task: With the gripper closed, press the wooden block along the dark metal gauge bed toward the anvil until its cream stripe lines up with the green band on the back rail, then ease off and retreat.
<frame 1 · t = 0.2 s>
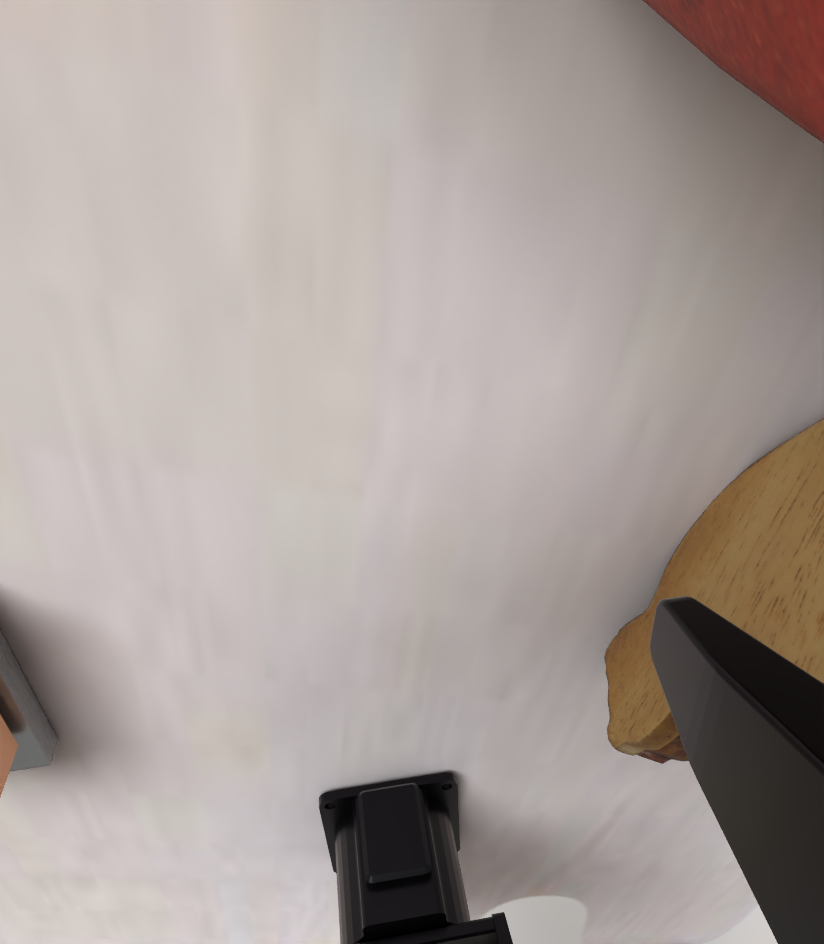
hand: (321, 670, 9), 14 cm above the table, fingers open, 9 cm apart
wooden carving: (715, 521, 29), on the table
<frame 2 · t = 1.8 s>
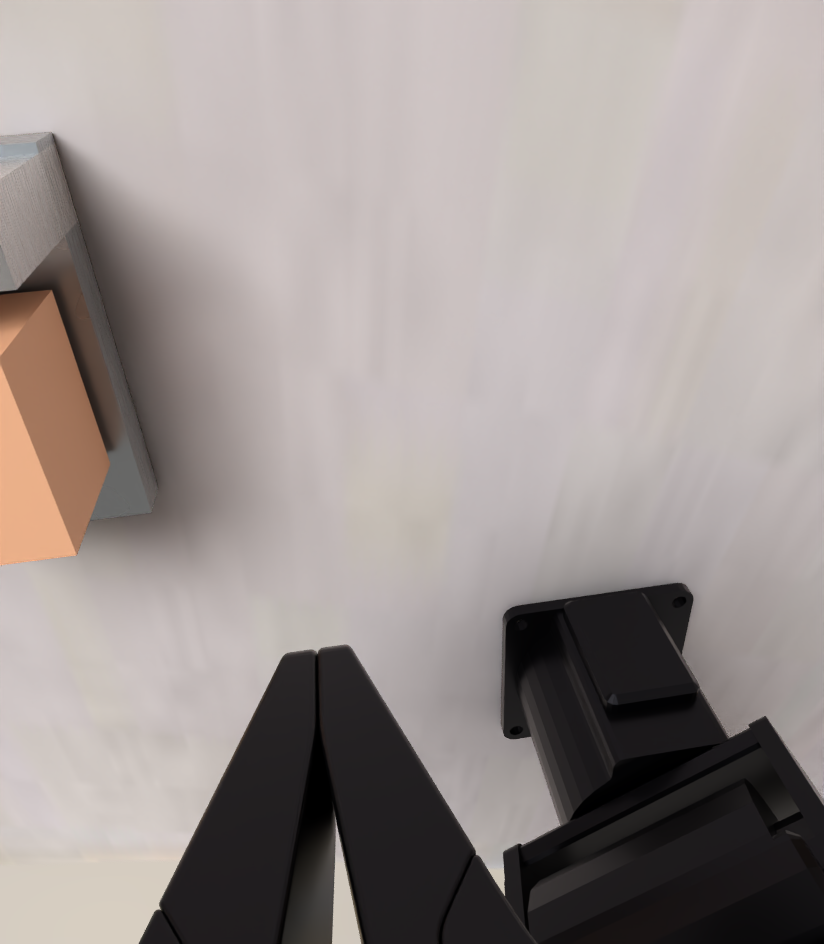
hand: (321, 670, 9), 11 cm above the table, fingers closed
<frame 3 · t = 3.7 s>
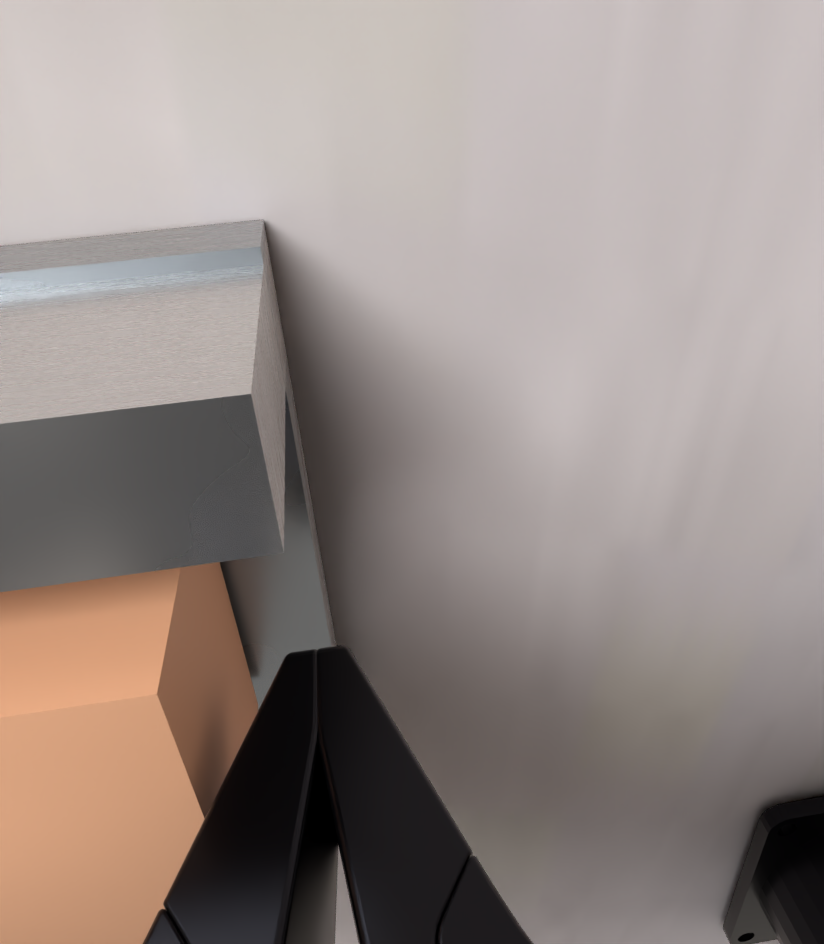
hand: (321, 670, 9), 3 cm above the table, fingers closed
wooden block: (61, 731, 9), point 3 cm above the table, slide at 0.8 cm, touching gripper
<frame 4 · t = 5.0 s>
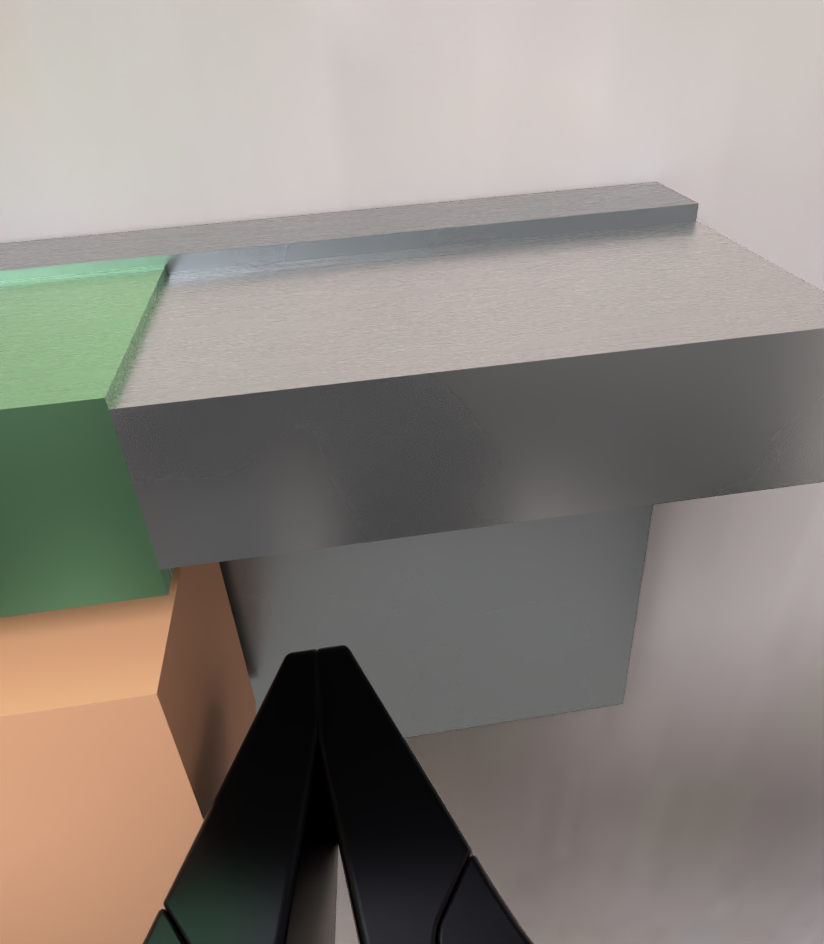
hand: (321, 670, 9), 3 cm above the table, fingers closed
wooden block: (59, 730, 9), point 3 cm above the table, slide at 5.9 cm, touching gripper
gauge bed: (195, 521, 12), on the table
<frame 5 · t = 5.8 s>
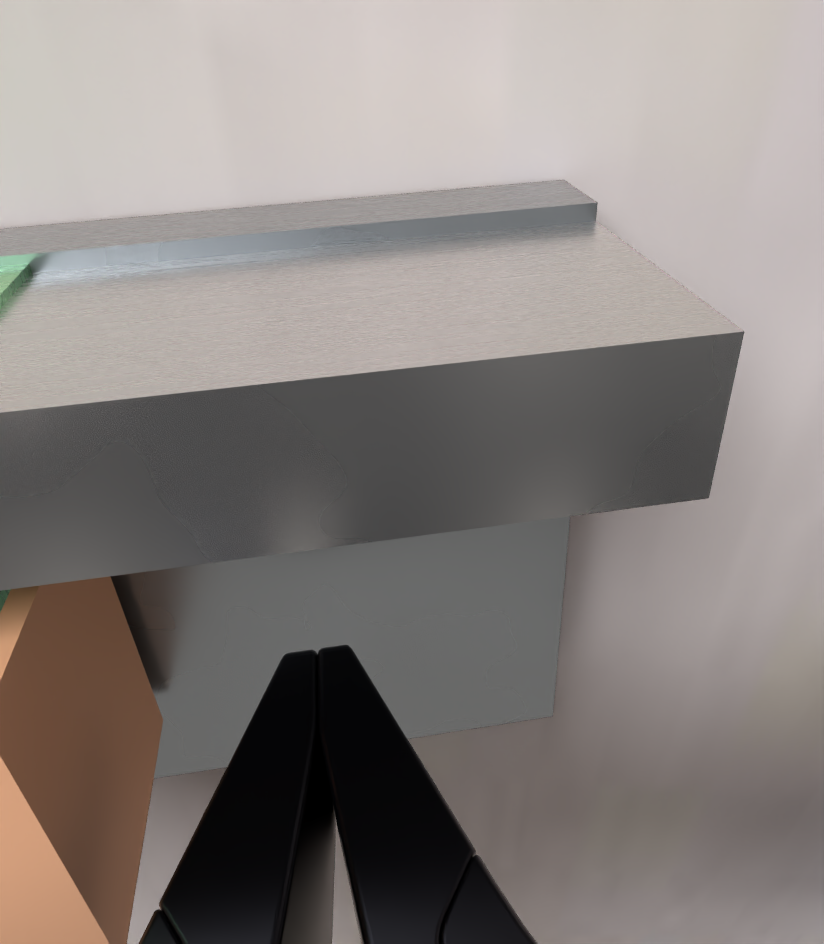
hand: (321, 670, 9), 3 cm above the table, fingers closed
gauge bed: (98, 529, 11), on the table
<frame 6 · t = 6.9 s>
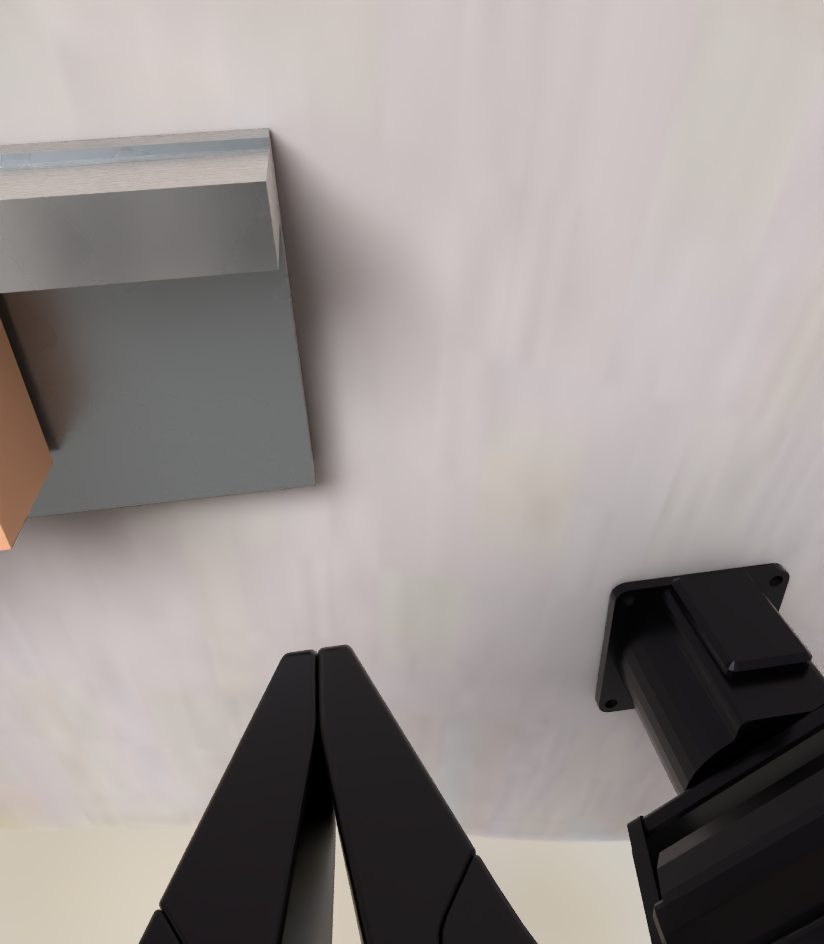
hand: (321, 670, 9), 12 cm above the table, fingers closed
gauge bed: (13, 342, 18), on the table
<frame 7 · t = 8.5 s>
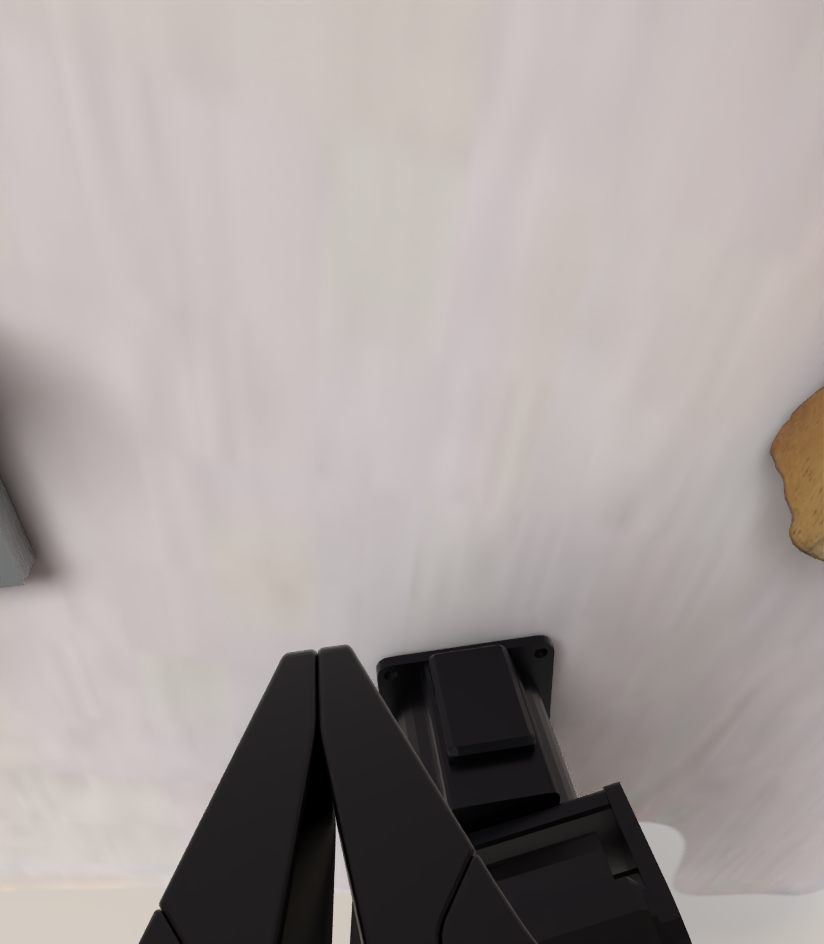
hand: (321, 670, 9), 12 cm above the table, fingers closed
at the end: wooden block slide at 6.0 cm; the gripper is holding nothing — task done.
